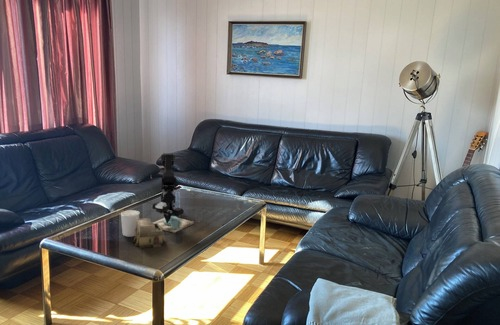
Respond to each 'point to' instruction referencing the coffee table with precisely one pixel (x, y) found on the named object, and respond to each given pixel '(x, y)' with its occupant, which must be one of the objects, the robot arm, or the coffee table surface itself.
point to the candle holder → (129, 222)
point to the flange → (173, 222)
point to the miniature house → (148, 234)
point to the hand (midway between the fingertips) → (167, 222)
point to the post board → (163, 226)
